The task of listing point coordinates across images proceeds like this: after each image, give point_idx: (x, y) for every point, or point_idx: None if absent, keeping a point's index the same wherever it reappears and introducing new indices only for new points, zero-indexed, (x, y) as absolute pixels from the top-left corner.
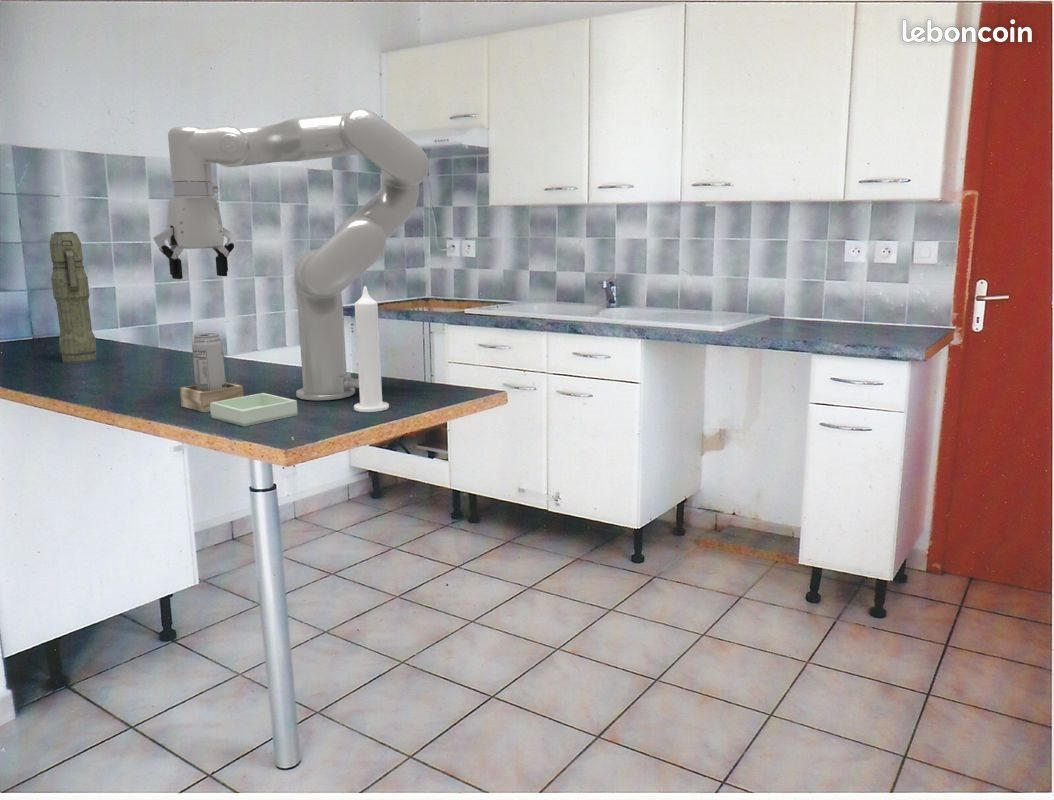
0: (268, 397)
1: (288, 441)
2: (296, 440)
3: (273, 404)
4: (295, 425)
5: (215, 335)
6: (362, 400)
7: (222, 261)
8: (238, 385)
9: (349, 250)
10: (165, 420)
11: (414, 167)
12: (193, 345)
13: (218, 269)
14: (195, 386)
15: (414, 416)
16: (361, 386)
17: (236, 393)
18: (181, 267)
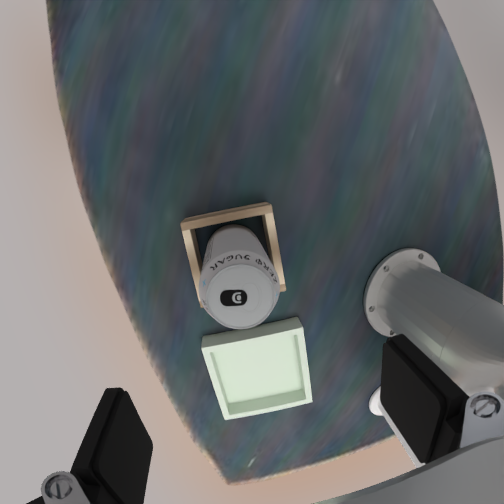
0: (298, 349)
1: (242, 468)
2: (250, 468)
3: (276, 407)
4: (278, 427)
5: (257, 324)
6: (380, 409)
7: (413, 448)
8: (282, 280)
9: None
10: (139, 308)
11: None
12: (199, 295)
13: (397, 380)
14: (212, 224)
15: (387, 440)
16: (387, 420)
17: None
18: (144, 485)
